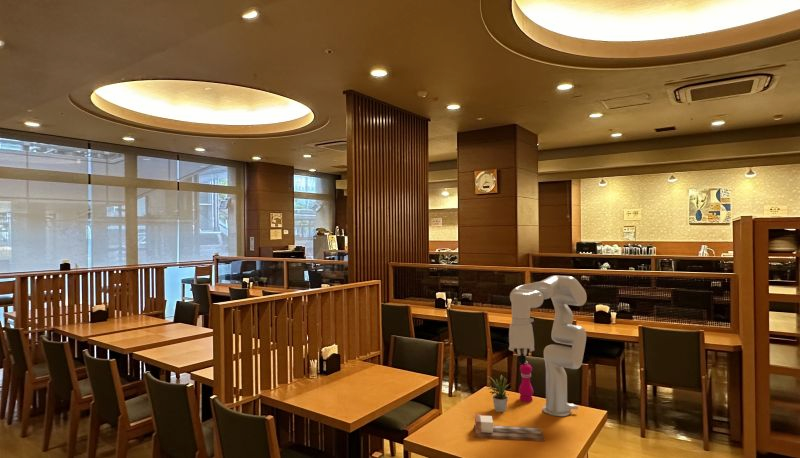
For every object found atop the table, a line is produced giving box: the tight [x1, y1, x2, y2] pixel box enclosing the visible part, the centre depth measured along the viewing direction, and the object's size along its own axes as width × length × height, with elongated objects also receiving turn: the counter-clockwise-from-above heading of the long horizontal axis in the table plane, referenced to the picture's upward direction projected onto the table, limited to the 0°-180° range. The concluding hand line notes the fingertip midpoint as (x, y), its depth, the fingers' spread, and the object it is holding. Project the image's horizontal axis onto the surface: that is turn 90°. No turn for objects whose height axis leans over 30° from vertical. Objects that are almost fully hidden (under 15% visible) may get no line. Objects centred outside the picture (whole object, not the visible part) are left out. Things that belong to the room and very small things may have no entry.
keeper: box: [480, 414, 494, 433], centre depth 193 cm, size 5×7×4 cm
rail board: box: [473, 413, 545, 442], centre depth 192 cm, size 28×10×6 cm, turn 83°
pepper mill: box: [518, 360, 534, 403], centre depth 232 cm, size 7×7×20 cm
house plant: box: [487, 374, 511, 413], centre depth 220 cm, size 14×14×16 cm
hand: (522, 364), depth 193 cm, fingers closed
